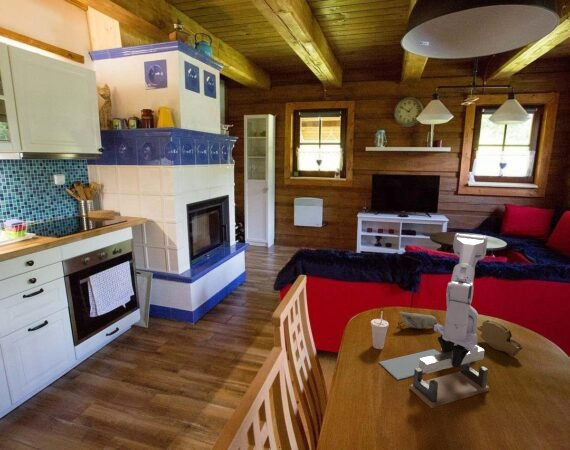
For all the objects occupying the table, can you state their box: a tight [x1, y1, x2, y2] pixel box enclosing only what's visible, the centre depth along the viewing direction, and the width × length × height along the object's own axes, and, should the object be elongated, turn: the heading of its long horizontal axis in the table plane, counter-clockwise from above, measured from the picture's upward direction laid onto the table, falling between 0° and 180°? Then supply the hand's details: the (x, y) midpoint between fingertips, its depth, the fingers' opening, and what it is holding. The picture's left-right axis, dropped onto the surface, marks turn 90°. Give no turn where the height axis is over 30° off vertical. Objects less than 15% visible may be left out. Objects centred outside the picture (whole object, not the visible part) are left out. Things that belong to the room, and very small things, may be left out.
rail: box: [419, 344, 485, 375], centre depth 104 cm, size 22×3×3 cm, turn 110°
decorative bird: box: [397, 311, 438, 330], centre depth 143 cm, size 5×16×8 cm, turn 90°
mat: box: [378, 348, 441, 381], centre depth 119 cm, size 24×10×1 cm, turn 110°
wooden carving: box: [476, 319, 523, 357], centre depth 128 cm, size 16×5×10 cm, turn 26°
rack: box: [409, 362, 490, 409], centre depth 105 cm, size 22×9×7 cm, turn 110°
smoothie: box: [370, 311, 390, 350], centre depth 128 cm, size 6×6×14 cm
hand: (451, 363), depth 104 cm, fingers closed on rail, 3 cm apart
